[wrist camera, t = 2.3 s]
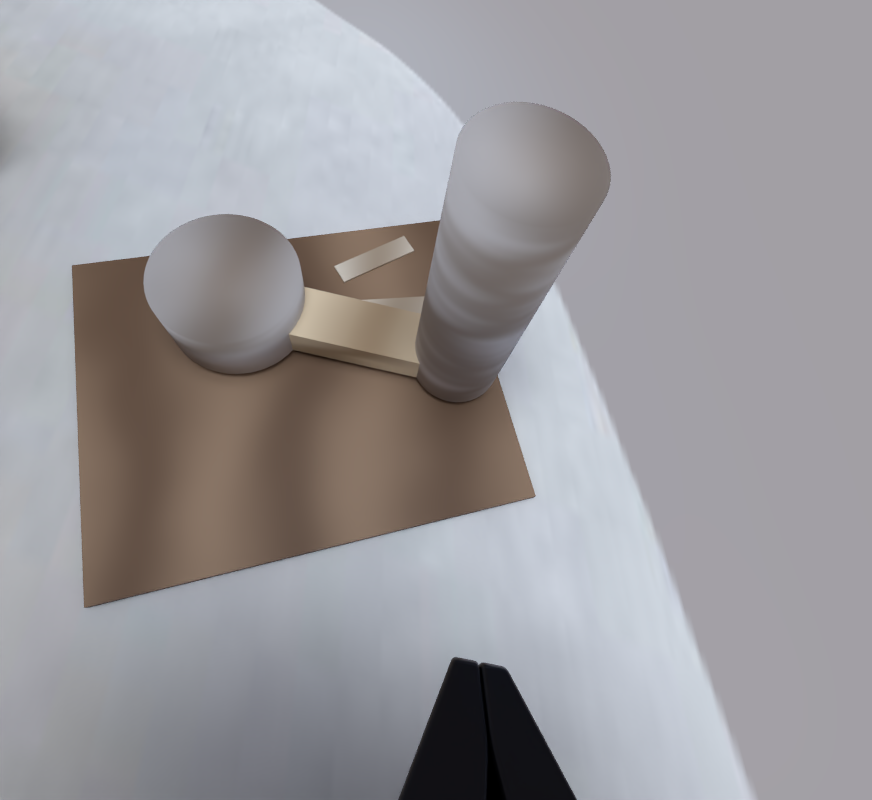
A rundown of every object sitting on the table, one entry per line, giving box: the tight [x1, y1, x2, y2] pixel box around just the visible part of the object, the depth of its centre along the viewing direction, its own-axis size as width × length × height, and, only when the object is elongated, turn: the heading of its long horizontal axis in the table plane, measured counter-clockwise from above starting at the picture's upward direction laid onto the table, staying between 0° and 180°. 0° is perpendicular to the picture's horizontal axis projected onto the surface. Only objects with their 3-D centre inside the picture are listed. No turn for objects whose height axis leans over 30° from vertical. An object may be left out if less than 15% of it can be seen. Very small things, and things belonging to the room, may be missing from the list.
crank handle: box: [143, 102, 611, 402], centre depth 18 cm, size 15×6×12 cm, turn 79°
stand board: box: [72, 221, 535, 608], centre depth 23 cm, size 18×15×1 cm
